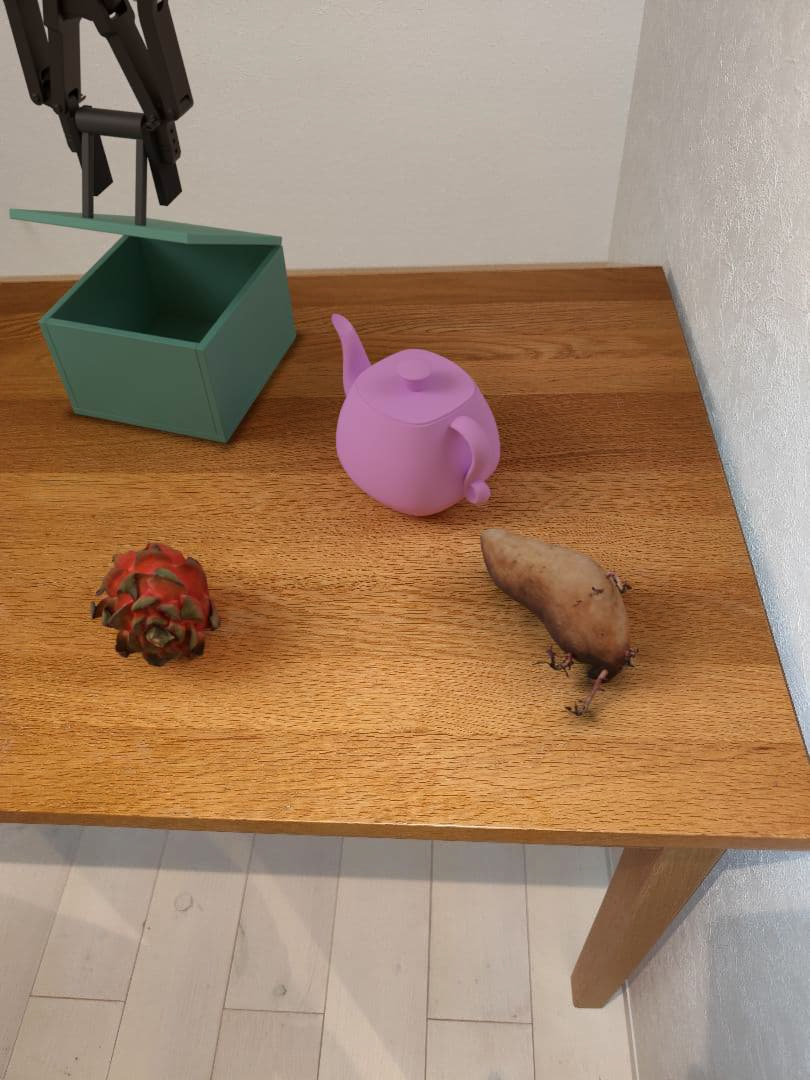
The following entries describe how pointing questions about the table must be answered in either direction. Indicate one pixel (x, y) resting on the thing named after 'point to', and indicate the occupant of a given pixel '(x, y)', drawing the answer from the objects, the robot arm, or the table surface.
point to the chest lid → (135, 192)
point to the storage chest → (173, 334)
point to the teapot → (413, 429)
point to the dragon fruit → (157, 604)
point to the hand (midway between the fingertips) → (135, 192)
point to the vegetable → (565, 602)
